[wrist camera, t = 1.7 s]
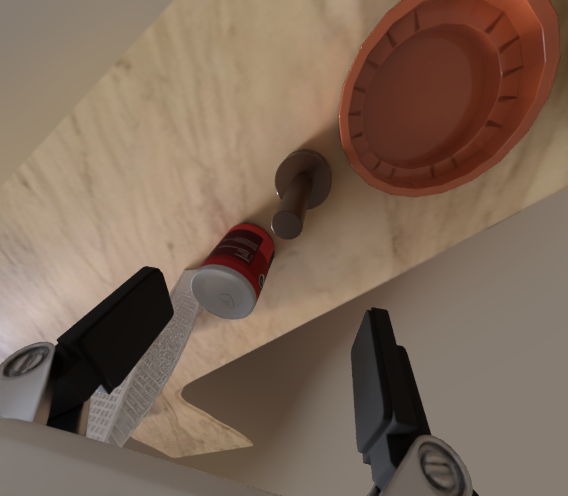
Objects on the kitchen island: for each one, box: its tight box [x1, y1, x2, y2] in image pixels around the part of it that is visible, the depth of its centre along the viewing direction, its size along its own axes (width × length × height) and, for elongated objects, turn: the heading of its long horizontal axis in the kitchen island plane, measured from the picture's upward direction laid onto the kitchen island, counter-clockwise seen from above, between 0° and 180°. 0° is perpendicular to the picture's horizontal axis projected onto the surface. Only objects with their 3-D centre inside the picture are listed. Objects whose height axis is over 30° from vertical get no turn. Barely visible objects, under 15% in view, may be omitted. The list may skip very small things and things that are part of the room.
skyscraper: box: [86, 269, 205, 447], centre depth 29 cm, size 8×8×28 cm
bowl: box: [338, 0, 560, 197], centre depth 20 cm, size 15×15×5 cm
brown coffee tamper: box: [271, 150, 331, 239], centre depth 22 cm, size 6×6×13 cm
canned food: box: [190, 223, 274, 319], centre depth 30 cm, size 8×8×11 cm
